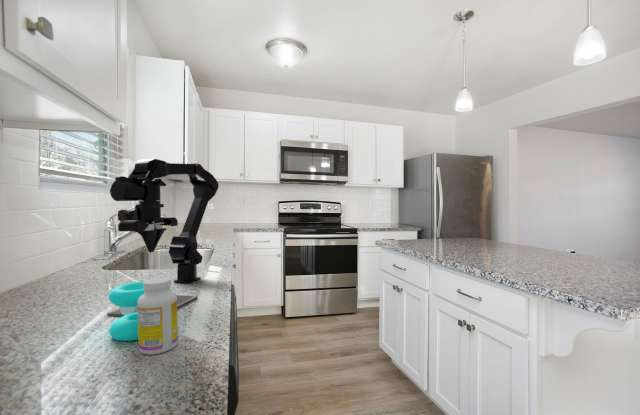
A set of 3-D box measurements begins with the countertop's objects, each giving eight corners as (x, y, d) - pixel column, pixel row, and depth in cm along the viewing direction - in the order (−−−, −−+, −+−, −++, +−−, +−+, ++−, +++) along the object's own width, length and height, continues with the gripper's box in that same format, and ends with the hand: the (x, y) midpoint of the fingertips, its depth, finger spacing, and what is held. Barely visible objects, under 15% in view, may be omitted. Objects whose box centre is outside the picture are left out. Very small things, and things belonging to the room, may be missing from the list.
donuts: (164, 288, 63) (105, 295, 58) (165, 336, 63) (106, 348, 58) (163, 277, 71) (112, 283, 67) (164, 320, 72) (112, 328, 67)
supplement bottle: (168, 336, 63) (167, 274, 63) (184, 346, 59) (183, 279, 58) (132, 348, 58) (131, 281, 57) (146, 360, 54) (145, 287, 53)
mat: (154, 295, 90) (154, 293, 90) (197, 298, 88) (197, 296, 88) (107, 315, 75) (107, 312, 75) (157, 319, 72) (157, 316, 72)
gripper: (148, 200, 103) (149, 246, 104) (100, 201, 85) (101, 257, 85) (178, 200, 102) (179, 247, 102) (135, 201, 83) (137, 258, 84)
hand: (151, 252), depth 93 cm, fingers closed
